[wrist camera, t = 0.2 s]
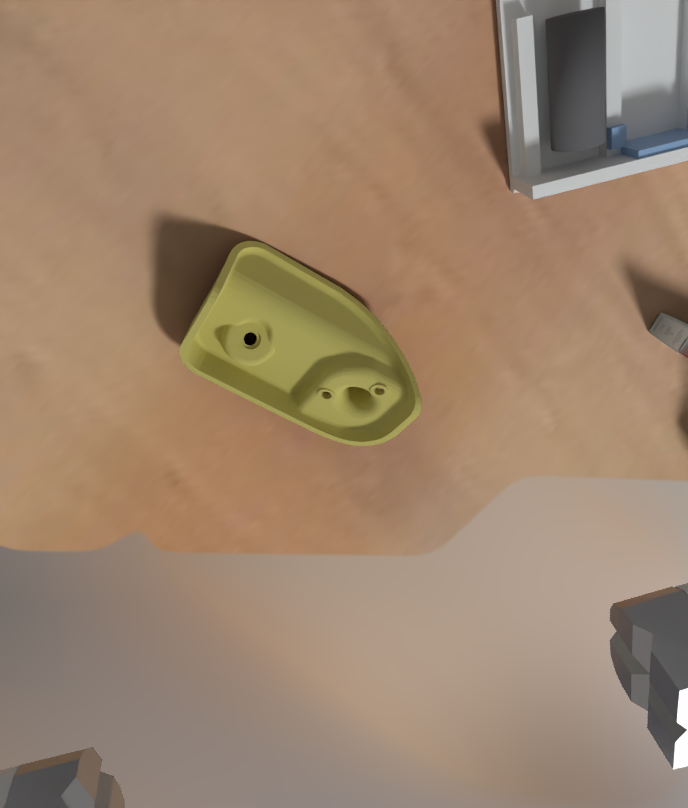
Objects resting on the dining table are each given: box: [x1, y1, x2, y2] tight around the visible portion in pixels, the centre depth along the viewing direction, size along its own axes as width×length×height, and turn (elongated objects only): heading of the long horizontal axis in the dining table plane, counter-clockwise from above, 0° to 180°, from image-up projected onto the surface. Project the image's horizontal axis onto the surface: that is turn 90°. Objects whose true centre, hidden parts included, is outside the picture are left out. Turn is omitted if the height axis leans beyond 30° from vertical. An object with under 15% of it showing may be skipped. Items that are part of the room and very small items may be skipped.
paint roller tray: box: [496, 0, 688, 199], centre depth 50 cm, size 14×16×5 cm
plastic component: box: [179, 241, 422, 446], centre depth 57 cm, size 20×7×10 cm
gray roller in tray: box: [545, 7, 606, 152], centre depth 49 cm, size 9×4×4 cm, turn 12°
